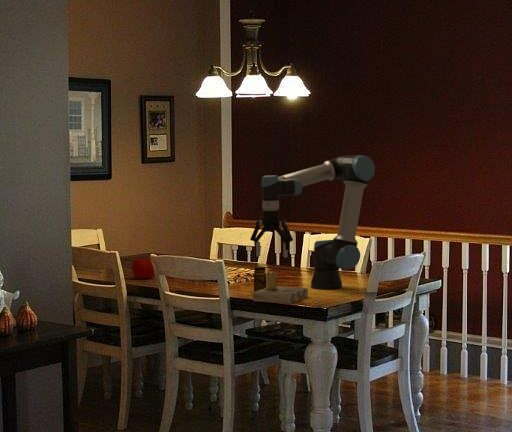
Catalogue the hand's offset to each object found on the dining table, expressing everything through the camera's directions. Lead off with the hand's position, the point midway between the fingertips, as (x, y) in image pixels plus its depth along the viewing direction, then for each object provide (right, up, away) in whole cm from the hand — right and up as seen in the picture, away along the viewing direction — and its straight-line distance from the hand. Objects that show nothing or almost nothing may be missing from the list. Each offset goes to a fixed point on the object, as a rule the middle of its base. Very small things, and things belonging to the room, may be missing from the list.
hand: (271, 256), depth 448 cm
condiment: (-6, -18, +20) cm, 27 cm away
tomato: (-65, -15, +71) cm, 98 cm away
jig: (+4, -19, -1) cm, 19 cm away
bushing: (0, -19, +1) cm, 19 cm away
